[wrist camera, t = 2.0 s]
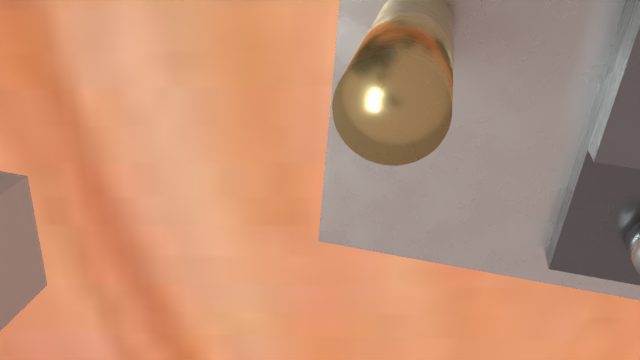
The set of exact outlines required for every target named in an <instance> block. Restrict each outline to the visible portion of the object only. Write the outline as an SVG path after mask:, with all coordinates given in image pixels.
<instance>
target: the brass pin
mask: <svg viewBox="0 0 640 360" xmlns="http://www.w3.org/2000/svg"><path fill="white" fill-rule="evenodd" d="M454 33H455V24H454V18H453V15H452V12H451V10H450V8H449V6H448V5H447V4H446V2H445V1H444V0H388V1H387V2H386V3H385V5H384V6H383V7H382V9H381V11H380V12H379V14H378V16H377V17H376V19H375V21H374V22H373V24H372V26H371V28H370V29H369V31H368V33H367V34H366V36H365V38H364V40H363V41H362V43H361V45H360V46H359V48H358V50H357V52H356V53H355V55H354V57H353V58H352V60H351V62H350V64H349V65H348V67H347V69H346V70H345V72H344V74H343V76H342V77H341V79H340V81H339V83H338V85H337V87H336V89H335V92H334V96H333V102H332V114H333V120H334V124H335V126H336V129H337V131H338V133H339V135H340V137H341V138H342V140H343V141H344V142H345V144H346V145H347V146H348V147H349V148H350V149H351V150H352V151H354V152H355V153H356V154H358V155H359V156H361V157H362V158H364V159H366V160H368V161H371V162H374V163H377V164H382V165H390V166H398V165H406V164H410V163H413V162H416V161H418V160H421V159H422V158H424V157H426V156H428V155H429V154H430V153H432V152H433V151H434V150H435V149H436V148H437V147H438V146H439V145H440V144H441V142H442V141H443V139H444V138H445V136H446V134H447V132H448V130H449V127H450V124H451V119H452V105H453V69H454Z"/></svg>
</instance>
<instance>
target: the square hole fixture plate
mask: <svg viewBox="0 0 640 360" xmlns="http://www.w3.org/2000/svg"><path fill="white" fill-rule="evenodd" d="M387 1H388V0H340V5H339V16H338V28H337V39H336V50H335V61H334V72H333V84H332V95H331V106H330V117H329V128H328V140H327V151H326V162H325V173H324V185H323V196H322V207H321V218H320V229H319V241H320V242H326V243H331V244H337V245H342V246H347V247H353V248H358V249H364V250H369V251H375V252H380V253H386V254H391V255H396V256H402V257H407V258H413V259H418V260H424V261H429V262H435V263H440V264H445V265H451V266H456V267H462V268H467V269H473V270H478V271H483V272H489V273H494V274H500V275H505V276H511V277H516V278H522V279H527V280H532V281H538V282H543V283H549V284H554V285H560V286H565V287H571V288H576V289H581V290H587V291H592V292H598V293H603V294H609V295H614V296H619V297H625V298H630V299H636V300H640V0H444V1H445V2H446V4H447V5H448V6H449V8H450V10H451V12H452V15H453V18H454V24H455V33H454V69H453V105H452V119H451V124H450V127H449V130H448V132H447V134H446V136H445V138H444V139H443V141H442V142H441V144H440V145H439V146H438V147H437V148H436V149H435V150H434V151H433V152H432V153H430V154H429V155H428V156H426V157H424V158H422V159H421V160H418V161H416V162H413V163H410V164H406V165H398V166H390V165H382V164H377V163H374V162H371V161H368V160H366V159H364V158H362V157H361V156H359V155H358V154H356V153H355V152H354V151H352V150H351V149H350V148H349V147H348V146H347V145H346V144H345V142H344V141H343V140H342V138H341V137H340V135H339V133H338V131H337V129H336V126H335V124H334V120H333V114H332V102H333V96H334V92H335V89H336V87H337V85H338V83H339V81H340V79H341V77H342V76H343V74H344V72H345V70H346V69H347V67H348V65H349V64H350V62H351V60H352V58H353V57H354V55H355V53H356V52H357V50H358V48H359V46H360V45H361V43H362V41H363V40H364V38H365V36H366V34H367V33H368V31H369V29H370V28H371V26H372V24H373V22H374V21H375V19H376V17H377V16H378V14H379V12H380V11H381V9H382V7H383V6H384V5H385V3H386V2H387Z"/></svg>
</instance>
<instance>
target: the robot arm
mask: <svg viewBox="0 0 640 360" xmlns="http://www.w3.org/2000/svg"><path fill="white" fill-rule="evenodd" d="M46 286H47V280H46V275H45V270H44V264H43V259H42V253H41V248H40V242H39V237H38V231H37V226H36V220H35V215H34V209H33V204H32V199H31V193H30V188H29V182H28V177H27V176H23V175H17V174H12V173H6V172H1V171H0V331H1V330H2V329H3V328H4V327H5V326H6V325H7V324H8V323H9V322H10V321H11V320H12V319H13V318H14V317H15V316H16V315H17V314H18V313H19V312H20V311H21V310H22V309H23V308H24V307H25V306H26V305H27V304H28V303H29V302H30V301H31V300H32V299H33V298H34V297H35V296H36V295H37V294H38V293H39V292H40V291H42V290H43V289H44V288H45V287H46Z"/></svg>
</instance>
